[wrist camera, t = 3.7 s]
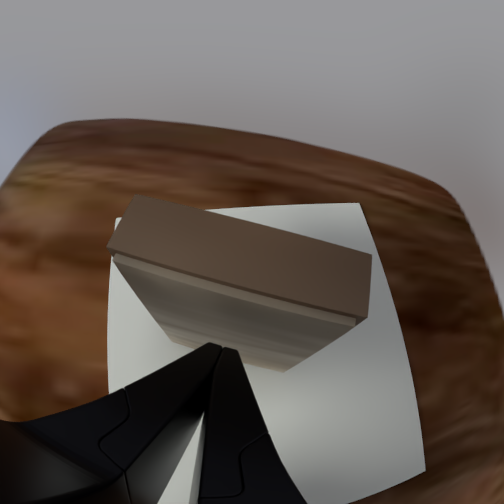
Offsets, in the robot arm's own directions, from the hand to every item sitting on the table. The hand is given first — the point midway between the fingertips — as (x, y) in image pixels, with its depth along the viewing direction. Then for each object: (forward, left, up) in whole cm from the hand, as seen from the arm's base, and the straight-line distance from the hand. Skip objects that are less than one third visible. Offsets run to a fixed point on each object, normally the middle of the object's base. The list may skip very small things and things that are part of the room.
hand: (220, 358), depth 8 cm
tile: (+2, -1, -6) cm, 7 cm away
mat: (+1, -2, -7) cm, 7 cm away
